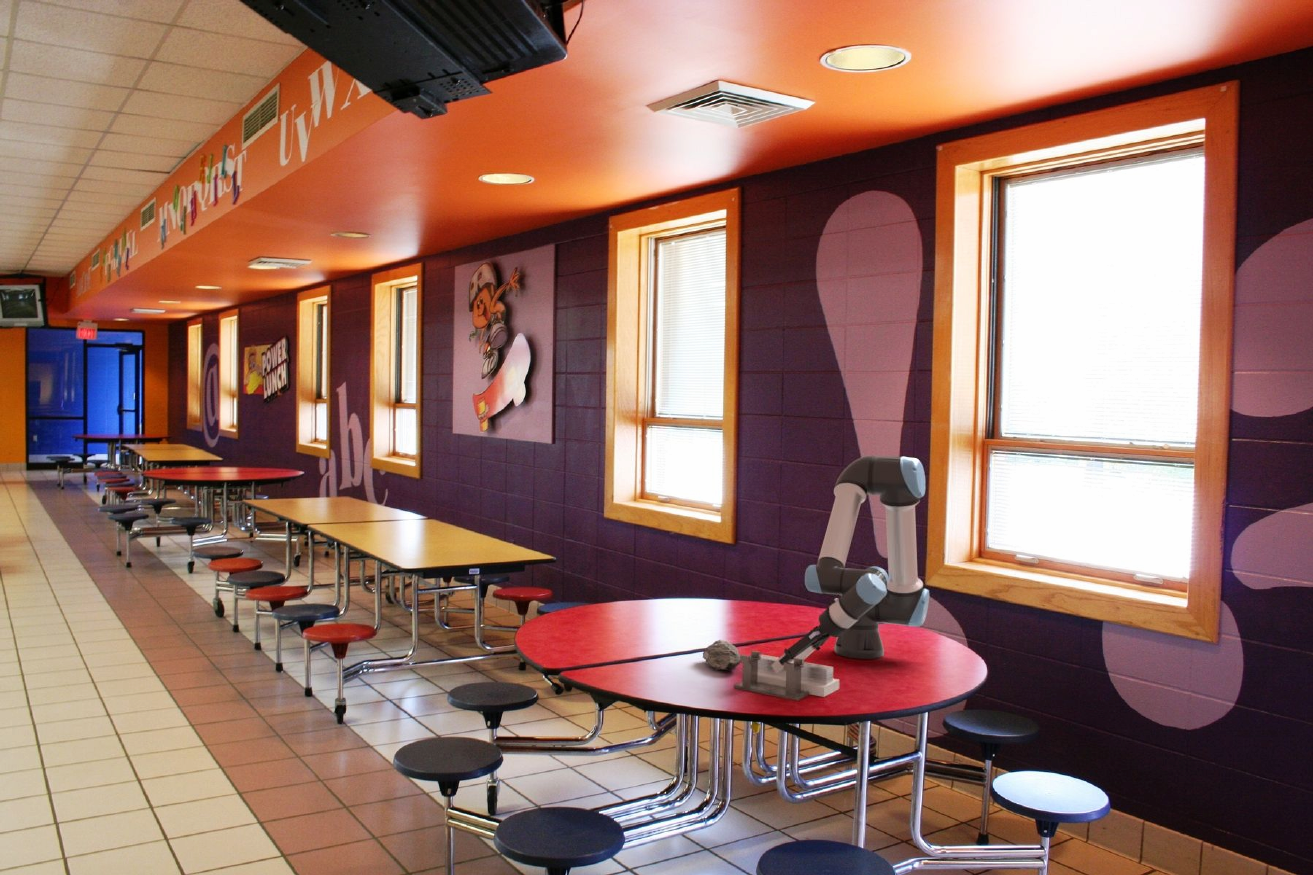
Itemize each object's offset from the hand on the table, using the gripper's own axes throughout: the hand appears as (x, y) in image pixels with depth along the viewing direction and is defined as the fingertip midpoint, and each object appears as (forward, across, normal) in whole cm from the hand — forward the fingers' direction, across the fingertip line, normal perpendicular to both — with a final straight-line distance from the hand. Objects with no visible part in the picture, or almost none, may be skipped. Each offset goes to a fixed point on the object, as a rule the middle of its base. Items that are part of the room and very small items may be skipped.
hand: (785, 664), depth 267 cm
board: (+2, 0, +6) cm, 6 cm away
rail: (0, 0, +4) cm, 4 cm away
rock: (+19, -4, -11) cm, 23 cm away
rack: (+3, +10, +4) cm, 11 cm away
